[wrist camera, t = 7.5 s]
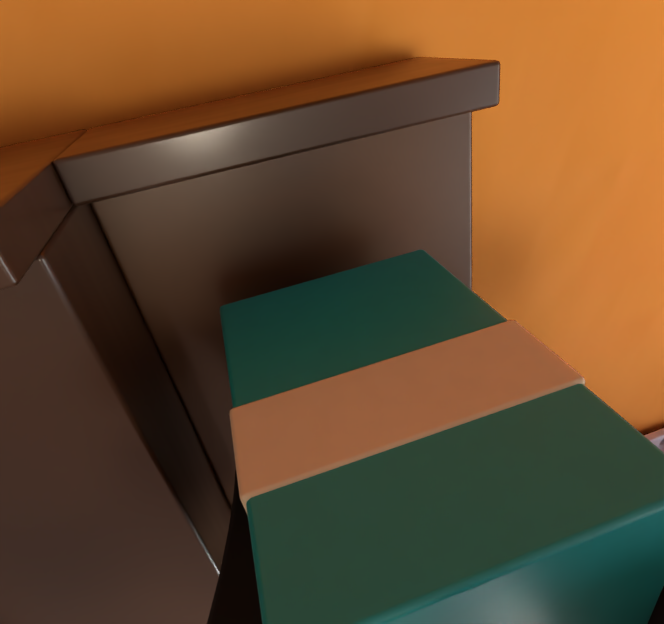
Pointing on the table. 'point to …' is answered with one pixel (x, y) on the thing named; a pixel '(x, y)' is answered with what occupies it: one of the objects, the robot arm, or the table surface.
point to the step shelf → (188, 310)
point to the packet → (431, 461)
